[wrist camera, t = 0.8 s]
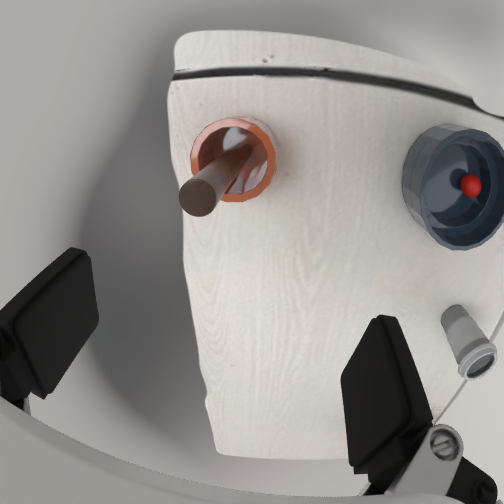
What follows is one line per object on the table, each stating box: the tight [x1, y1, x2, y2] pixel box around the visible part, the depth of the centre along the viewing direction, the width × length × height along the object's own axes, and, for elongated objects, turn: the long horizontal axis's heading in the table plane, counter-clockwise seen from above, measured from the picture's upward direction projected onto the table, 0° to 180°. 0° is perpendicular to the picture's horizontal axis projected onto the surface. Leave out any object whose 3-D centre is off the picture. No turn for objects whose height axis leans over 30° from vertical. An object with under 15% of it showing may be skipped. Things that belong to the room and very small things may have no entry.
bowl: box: [402, 124, 504, 250], centre depth 28 cm, size 14×14×6 cm
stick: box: [179, 142, 251, 217], centre depth 24 cm, size 2×2×18 cm
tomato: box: [460, 174, 481, 198], centre depth 29 cm, size 3×3×3 cm
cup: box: [441, 305, 497, 381], centre depth 35 cm, size 7×7×12 cm
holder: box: [190, 117, 278, 202], centre depth 30 cm, size 8×8×7 cm
